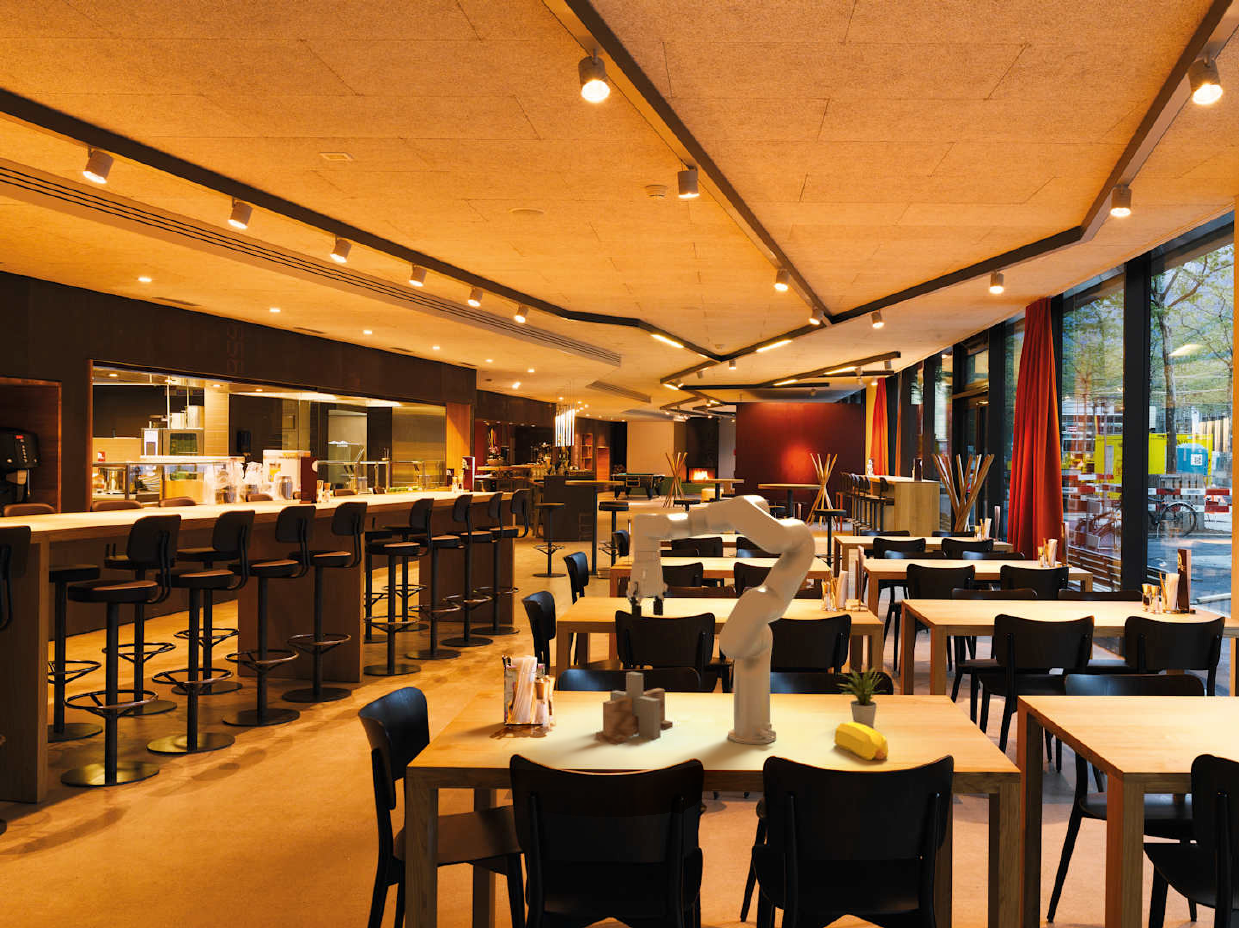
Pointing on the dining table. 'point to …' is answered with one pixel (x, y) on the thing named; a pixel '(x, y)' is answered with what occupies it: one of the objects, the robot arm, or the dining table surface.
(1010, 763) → the dining table surface
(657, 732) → the grey slotted plate
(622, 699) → the walnut slotted stand
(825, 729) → the dining table surface
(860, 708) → the house plant
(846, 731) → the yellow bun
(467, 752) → the dining table surface
